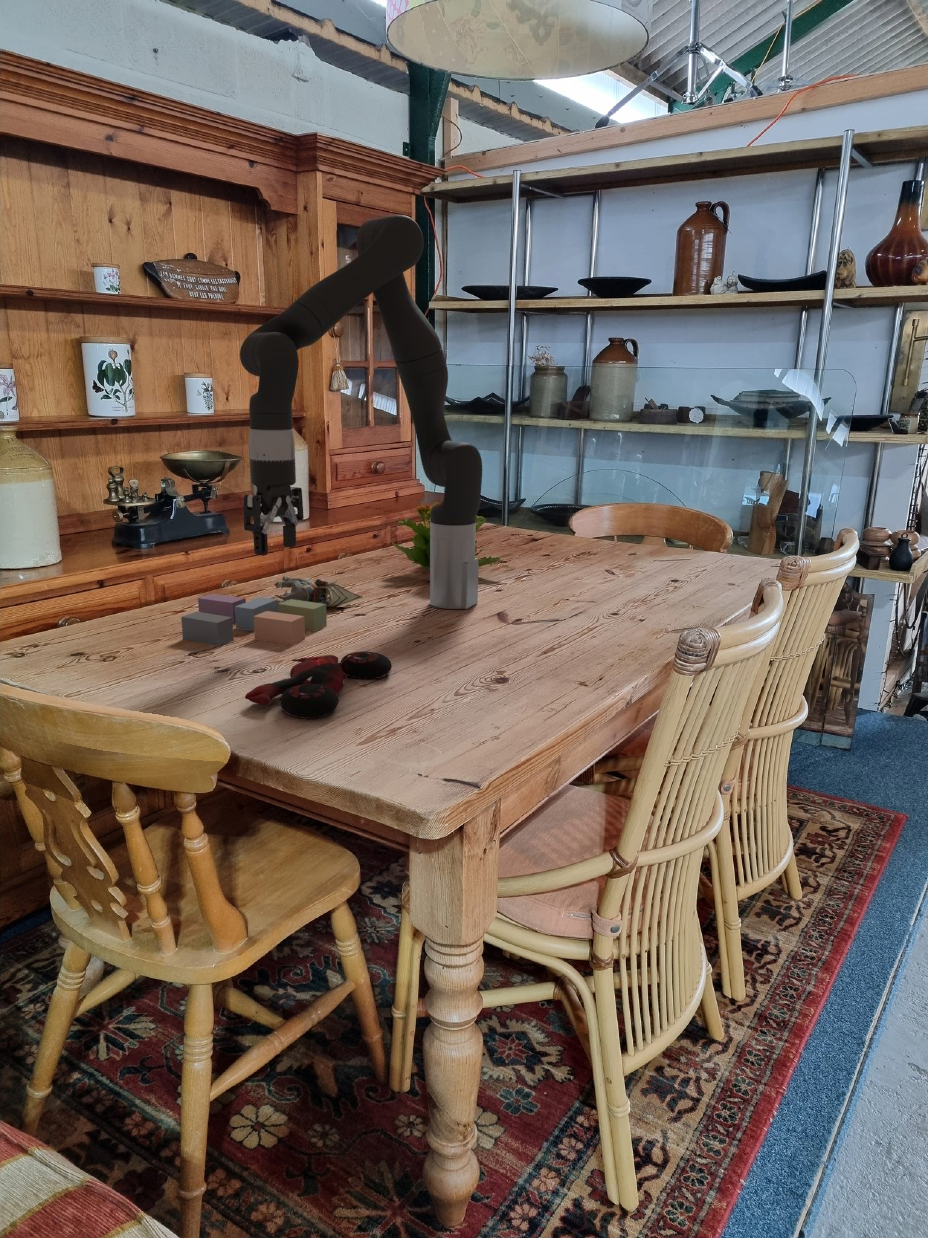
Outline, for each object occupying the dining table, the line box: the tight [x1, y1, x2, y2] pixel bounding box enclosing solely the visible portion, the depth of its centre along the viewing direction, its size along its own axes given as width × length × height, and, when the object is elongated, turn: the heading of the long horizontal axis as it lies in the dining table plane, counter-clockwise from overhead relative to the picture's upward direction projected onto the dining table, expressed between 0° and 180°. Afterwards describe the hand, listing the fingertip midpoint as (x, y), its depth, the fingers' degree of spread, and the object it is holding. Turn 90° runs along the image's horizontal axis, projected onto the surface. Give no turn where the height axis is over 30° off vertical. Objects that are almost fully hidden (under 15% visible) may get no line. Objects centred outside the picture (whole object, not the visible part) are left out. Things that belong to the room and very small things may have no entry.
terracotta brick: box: [253, 611, 306, 646], centre depth 155 cm, size 8×4×4 cm, turn 67°
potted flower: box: [391, 501, 504, 571], centre depth 205 cm, size 25×24×18 cm
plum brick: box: [197, 593, 247, 626], centre depth 167 cm, size 8×4×4 cm, turn 67°
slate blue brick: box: [235, 596, 279, 632], centre depth 164 cm, size 8×4×4 cm, turn 158°
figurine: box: [271, 575, 363, 609], centre depth 178 cm, size 20×6×17 cm
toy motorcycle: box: [244, 650, 393, 719], centre depth 131 cm, size 25×5×16 cm
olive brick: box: [278, 599, 328, 632], centre depth 164 cm, size 8×4×4 cm, turn 65°
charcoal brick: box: [180, 611, 234, 647], centre depth 154 cm, size 8×4×4 cm, turn 65°
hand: (276, 550), depth 151 cm, fingers open, 8 cm apart
